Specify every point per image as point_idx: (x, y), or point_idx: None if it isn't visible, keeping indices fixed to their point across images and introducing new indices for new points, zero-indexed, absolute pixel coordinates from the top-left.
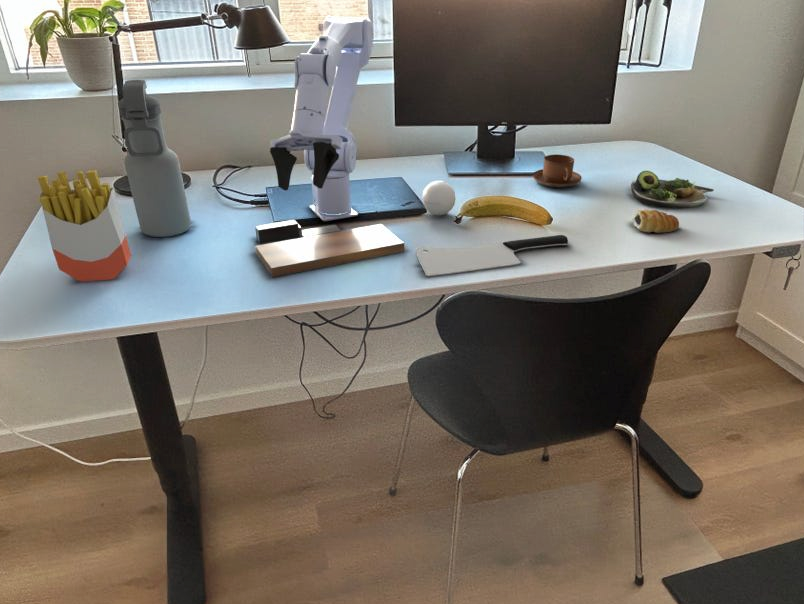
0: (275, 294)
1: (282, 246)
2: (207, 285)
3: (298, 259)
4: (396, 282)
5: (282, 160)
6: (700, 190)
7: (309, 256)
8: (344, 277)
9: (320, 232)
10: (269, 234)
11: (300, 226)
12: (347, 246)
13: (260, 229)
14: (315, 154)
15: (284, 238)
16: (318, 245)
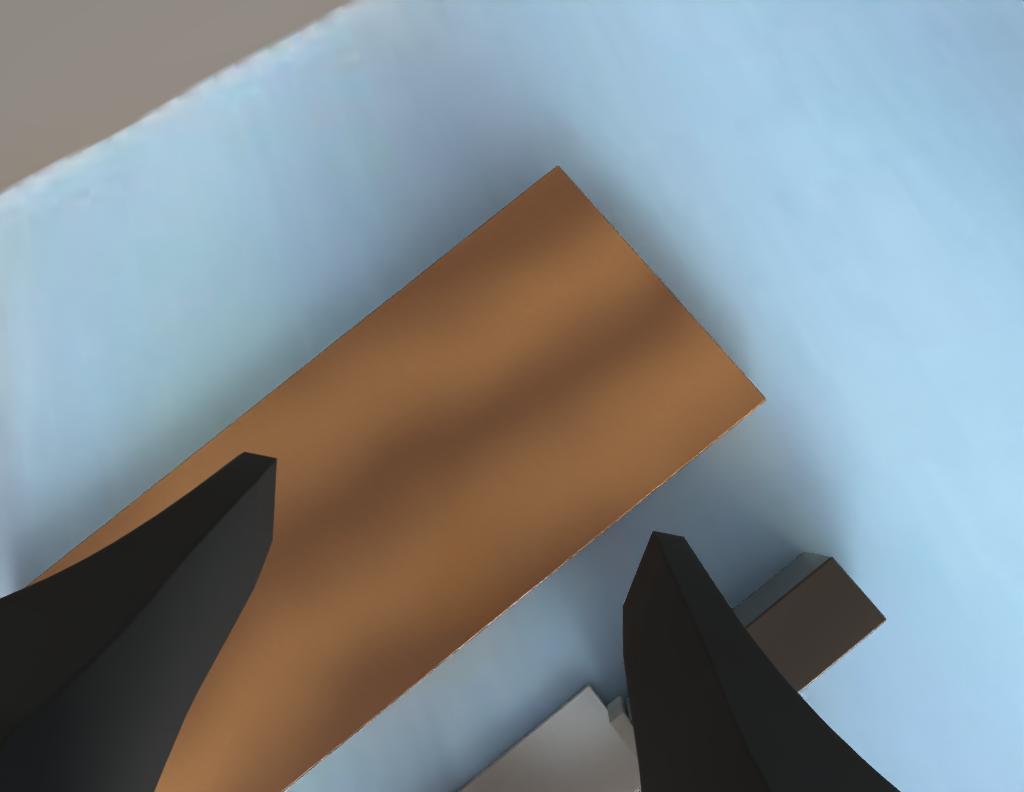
0: (483, 49)
1: (611, 425)
2: (813, 46)
3: (465, 289)
4: (16, 275)
5: (721, 768)
6: None
7: (422, 334)
8: (243, 266)
9: (515, 773)
10: (768, 594)
11: (619, 733)
12: None
13: (822, 570)
14: (88, 638)
15: None
16: (421, 482)
